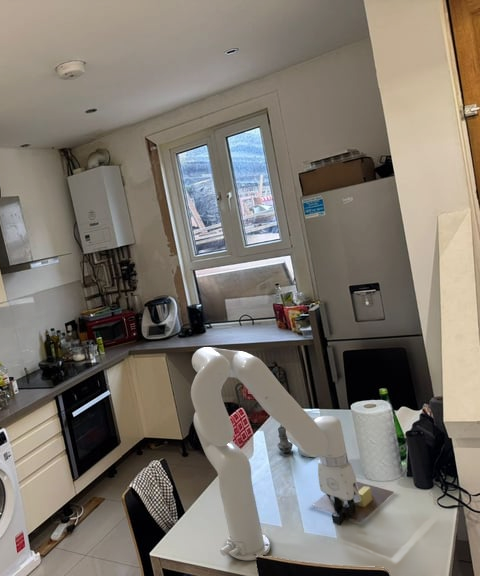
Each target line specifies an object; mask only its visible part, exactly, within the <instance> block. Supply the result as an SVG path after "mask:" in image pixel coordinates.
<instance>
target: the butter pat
mask: <svg viewBox="0 0 480 576" xmlns="http://www.w3.org/2000/svg"><path fill="white" fill-rule="evenodd" d="M358 493H359V495H360V497H361V498H362V500H361V501H360V502H358V505H359V506H362V507H365V506H366V505H367V504H368V503H370V502H371V501H372V500H373V499H372V494H371V489H370V488H369V487H366V486H364V487H362V488H361V489H360V490H359V491H358Z"/></svg>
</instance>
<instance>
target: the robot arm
mask: <svg viewBox="0 0 480 576" xmlns="http://www.w3.org/2000/svg"><path fill="white" fill-rule="evenodd" d="M191 365H192V368H193V370H195V372H196V374H195V376H194V379H193V382H192V384H191V389H190V398H191V401H192V406H193V408H194V411H195V412H194V414H193V426H194V430H195V432H196V434H197V437H198V439H199V442H200V444H201V445H200V446H201V447H202V449H203V452H204V454H205V456H206V458H207V460H208V461H209V463H210V464H211V466H212V467H213V468H214V470H215V471H216V473H217V477H218V485H219V494H220V498H221V503H222V507H223V511H224V516H225V520H226V527H227V530H228V531H227V532H228V535H229V536H227V539H226V540H227V541H226V545H224V546H223V547H222V548H221V549H219V552H220V555H222V556H223V557H225V556H227V555H228V554H229V555H230V556H231V557H233V558H235V559H237V560H241V561H254V560H257V559H256V556H257V555H265V556H266V555H267V554H268V553H269V552H270V549H271V542H270V540H269V538H268V537H267V536H266V535H265V534H263V530H262V526H261V521H260V516H259V511H258V507H257V506H258V505H257V501H256V496H255V492H254V485H253V480H252V466H251V463H250V460H249V458H248V456H247V454H246V453H245V452H244V451H243V450H242V448H240V446H238V445H237V444H236V443H235V442H234V441H233V439H234V436H235V429H234V424H233V422H232V420H231V417H230V415H229V412H228V410H227V407H226V405H225V402H224V400H223V396H222V389H223V386H224V384H225V383H226V381H227V380H228V378H235V379H236V380H239V381H240V382H241V383H242V384H243V386H244V387H245V388H246V390H247V391H248V392H249V393H250V394H251V395H252V396H253V398H254V399H255V400H256V402H257V403H258V404H259V405H260V406H261V409H262V410H264V411H265V412H266V413H267V415H268V416H270V417H271V418H272V419H273V420H274V421H276V422H277V423H278V424H280V425H282V427H284V428H285V429H286V436H287V438H288V441H289V442H291V443H292V444H293V445H294V446H295V447H296V448H297V449H298V448H299V449H301V450H302V451H303V452H304V453H306V454H307V455H309V456H311V457H310V458H319V460H318V461H317V462H318V463H317V476H318V484H319V489H320V491H321V492H322V493H323V494H324V495H326V494H327V496H328V497H329V498H330V499H331V502H332V503H333V504H334V509H335V511H336V510H337V509H339V508H340V507H341V506H342V501H341V499H343V501H344V505H345V506H343V509H344V514H345V518H346V520H350V517H351V516H352V515H353V510H352V504H353V503H357V502H360V501H361V500H362V498H361V497H360V495H359V493H358V485H357V482H358V481H357V478H356V474H355V471H354V469H353V466H352V463H351V462H350V461H349V459H348V454H347V453H348V452H347V448H346V442H345V437H344V432H343V427H342V422H341V420H340V419H339V418H338V417H336V416H334V415H322V416H319V417H316V418H312V417H311V416H310V415H309V414H308V413H307V412H306V410H305V409H304V408H303V407H302V406H301V405H300V404H299V403H298V402H297V400H295V398H294V397H293V396H292V395H291V394H290V393H289V392H288V391H287V390H286V388H285V387H284V386H283V385H282V383H280V381H279V380H278V379H277V378H276V376H275V375H274V374H273V372H272V371H271V370H270V369H269V367H268V366H267V365H266V364H265V362H263V360H262V359H260V358H259V357H257V356H255V355H254V354H251V353H249V352H246V351H240V350H233V349H232V350H231V349H225V348H224V349H223V348H217V347H210V346H209V347H208V346H207V347H206V346H205V347H201V348H199V349H197V350H196V351H195V352H194V353H193V354H192V358H191ZM339 498H341V499H339Z"/></svg>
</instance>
